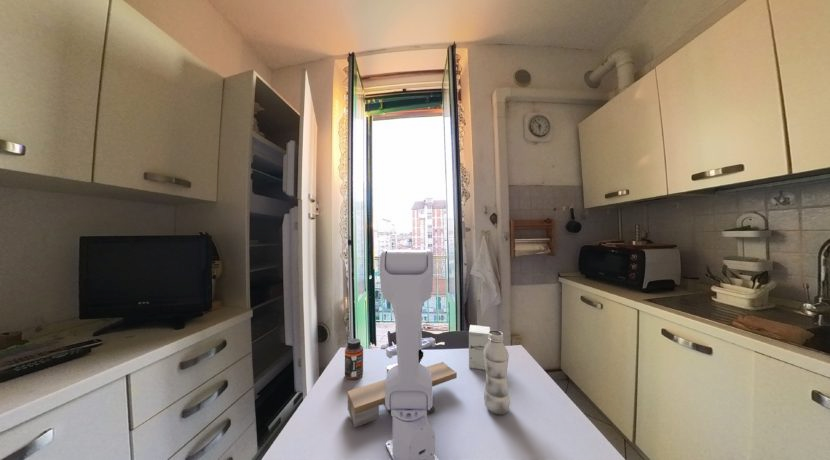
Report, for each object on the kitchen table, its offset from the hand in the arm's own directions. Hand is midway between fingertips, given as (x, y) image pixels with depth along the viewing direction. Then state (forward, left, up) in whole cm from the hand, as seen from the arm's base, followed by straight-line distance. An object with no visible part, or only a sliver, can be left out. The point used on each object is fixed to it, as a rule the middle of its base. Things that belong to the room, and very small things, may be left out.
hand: (411, 376), depth 69 cm
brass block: (0, +4, -1) cm, 4 cm away
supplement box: (+5, -30, -7) cm, 31 cm away
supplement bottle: (+20, +11, -7) cm, 24 cm away
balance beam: (0, +2, -5) cm, 6 cm away
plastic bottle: (-14, -18, -7) cm, 24 cm away
